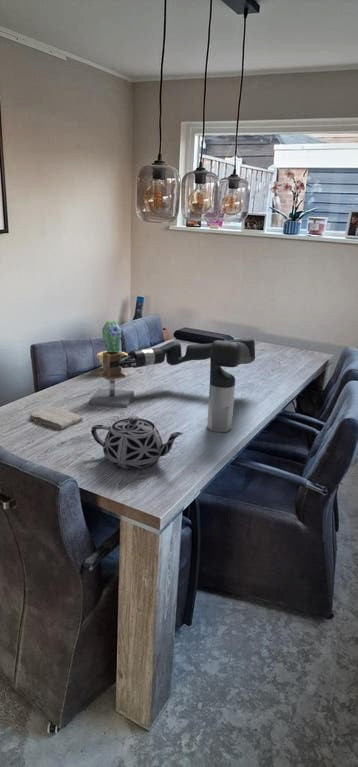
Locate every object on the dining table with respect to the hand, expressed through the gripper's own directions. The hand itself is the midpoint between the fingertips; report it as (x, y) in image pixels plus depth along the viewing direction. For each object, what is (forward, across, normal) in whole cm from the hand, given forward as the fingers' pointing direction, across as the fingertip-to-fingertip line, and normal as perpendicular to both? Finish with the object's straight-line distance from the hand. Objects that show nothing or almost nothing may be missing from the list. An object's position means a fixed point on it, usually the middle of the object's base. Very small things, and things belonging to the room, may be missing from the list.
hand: (106, 363), depth 212 cm
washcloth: (+27, -10, -17) cm, 33 cm away
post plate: (-2, 0, -16) cm, 16 cm away
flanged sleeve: (-3, 0, -6) cm, 7 cm away
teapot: (+17, -55, -16) cm, 60 cm away
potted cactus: (-22, +37, -17) cm, 46 cm away
